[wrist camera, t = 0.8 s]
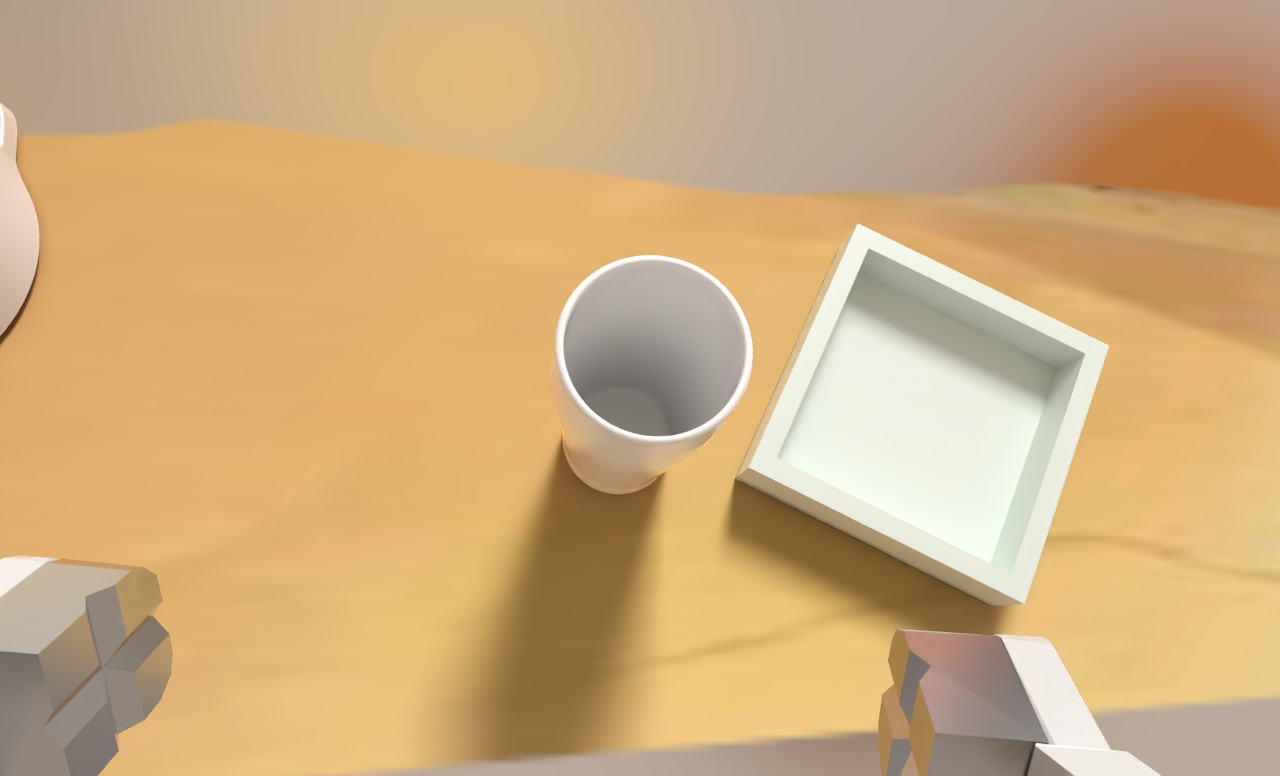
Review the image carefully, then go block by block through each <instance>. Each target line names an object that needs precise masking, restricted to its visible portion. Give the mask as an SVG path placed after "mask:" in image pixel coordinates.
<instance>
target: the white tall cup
mask: <svg viewBox="0 0 1280 776" xmlns="http://www.w3.org/2000/svg"><path fill="white" fill-rule="evenodd" d="M752 362H753V348H752V339H751V334H750V330H749V326H748V323H747V321H746V318H745V316H744V314H743V312H742V310H741V308H740V306H739V305H738V303H737V301H736V300H735V299H734V297H733V296H732V295H731V293H730V292H729V291H728V290H727V289H726V288H725V287H724V286H723V285H722V284H721V283H720V282H719V281H718V280H717V279H715V278H714V277H713V276H712V275H710V274H709V273H707V272H706V271H704V270H702V269H701V268H699V267H697V266H695V265H693V264H690V263H688V262H685V261H682V260H679V259H675V258H670V257H665V256H653V255H646V256H635V257H629V258H625V259H622V260H618V261H616V262H613V263H610V264H608V265H606V266H604V267H602V268H600V269H599V270H597V271H596V272H594V273H593V274H591V275H590V276H589V277H587V278H586V279H585V280H584V281H583V282H582V283H581V284H580V285H579V286H578V287H577V288H576V289H575V291H574V292H573V293H572V295H571V296H570V298H569V299H568V301H567V302H566V304H565V306H564V308H563V310H562V313H561V315H560V318H559V321H558V324H557V329H556V334H555V339H554V344H553V349H552V358H551V388H552V396H553V401H554V406H555V410H556V414H557V417H558V421H559V424H560V428H561V431H562V435H563V449H564V453H565V457H566V459H567V462H568V464H569V466H570V467H571V469H572V470H573V472H574V473H575V474H576V475H577V477H578V478H579V479H580V480H582V481H583V482H584V483H585V484H587V485H588V486H590V487H592V488H594V489H596V490H598V491H601V492H605V493H609V494H628V493H632V492H636V491H639V490H641V489H643V488H645V487H647V486H648V485H650V484H651V483H653V482H654V481H655V480H656V479H657V478H658V477H659V476H660V475H661V474H663V473H665V472H666V471H668V470H670V469H671V468H673V467H675V466H676V465H678V464H680V463H682V462H683V461H685V460H687V459H688V458H690V457H691V456H692V455H694V454H695V453H697V452H698V451H699V450H700V449H701V448H703V447H704V446H705V445H706V444H707V443H708V442H709V441H710V440H711V439H712V438H713V437H714V436H715V435H716V434H717V433H718V432H719V430H720V429H721V428H722V427H723V425H724V424H725V423H726V421H727V420H728V419H729V417H730V416H731V414H732V412H733V411H734V409H735V408H736V406H737V405H738V403H739V401H740V400H741V398H742V396H743V394H744V392H745V390H746V387H747V385H748V382H749V379H750V374H751V369H752Z"/></svg>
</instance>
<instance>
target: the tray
mask: <svg viewBox="0 0 1280 776" xmlns="http://www.w3.org/2000/svg"><path fill="white" fill-rule="evenodd" d="M1108 348H1109V345H1107V344H1105V343H1103V342H1101V341H1099V340H1097V339H1094V338H1092V337H1090V336H1088V335H1086V334H1084V333H1082V332H1080V331H1078V330H1076V329H1074V328H1072V327H1070V326H1068V325H1066V324H1064V323H1062V322H1059V321H1057V320H1055V319H1053V318H1051V317H1049V316H1047V315H1045V314H1043V313H1041V312H1039V311H1037V310H1035V309H1033V308H1031V307H1029V306H1027V305H1025V304H1022V303H1020V302H1018V301H1016V300H1014V299H1012V298H1010V297H1008V296H1006V295H1004V294H1002V293H1000V292H998V291H996V290H994V289H992V288H990V287H988V286H985V285H983V284H981V283H979V282H977V281H975V280H973V279H971V278H969V277H967V276H965V275H963V274H961V273H959V272H957V271H955V270H953V269H950V268H948V267H946V266H944V265H942V264H940V263H938V262H936V261H934V260H932V259H930V258H928V257H926V256H924V255H922V254H920V253H918V252H916V251H913V250H911V249H909V248H907V247H905V246H903V245H901V244H899V243H897V242H895V241H893V240H891V239H889V238H887V237H885V236H883V235H881V234H879V233H876V232H874V231H872V230H870V229H868V228H866V227H864V226H862V225H860V224H857V225H856V226H855V228H854V229H853V230H852V231H851V233H850V234H849V235H848V237H847V238H846V239H845V241H844V242H843V243H842V244H841V246H840V247H839V248H838V250H837V253H836V255H835V257H834V259H833V262H832V264H831V266H830V268H829V270H828V273H827V275H826V277H825V279H824V282H823V284H822V286H821V288H820V291H819V293H818V295H817V297H816V299H815V302H814V304H813V306H812V308H811V311H810V313H809V315H808V317H807V319H806V322H805V324H804V326H803V328H802V331H801V333H800V335H799V337H798V339H797V342H796V344H795V346H794V348H793V351H792V353H791V355H790V357H789V359H788V362H787V364H786V366H785V368H784V371H783V373H782V375H781V377H780V379H779V382H778V384H777V386H776V388H775V391H774V393H773V395H772V397H771V399H770V402H769V404H768V406H767V408H766V411H765V413H764V415H763V417H762V420H761V422H760V424H759V426H758V428H757V431H756V433H755V435H754V437H753V440H752V442H751V444H750V446H749V448H748V451H747V453H746V455H745V457H744V460H743V462H742V464H741V466H740V468H739V471H738V473H737V475H736V477H735V479H736V480H738V481H740V482H742V483H745V484H747V485H749V486H751V487H753V488H755V489H757V490H759V491H761V492H763V493H765V494H767V495H769V496H771V497H773V498H775V499H777V500H779V501H781V502H783V503H785V504H787V505H789V506H791V507H793V508H795V509H797V510H799V511H801V512H803V513H805V514H807V515H809V516H811V517H813V518H815V519H817V520H819V521H821V522H823V523H825V524H827V525H829V526H831V527H833V528H835V529H838V530H840V531H842V532H844V533H846V534H848V535H850V536H852V537H854V538H856V539H858V540H860V541H862V542H864V543H866V544H868V545H870V546H872V547H874V548H876V549H878V550H880V551H882V552H884V553H886V554H888V555H890V556H892V557H894V558H896V559H898V560H900V561H902V562H904V563H906V564H908V565H910V566H912V567H914V568H916V569H918V570H920V571H922V572H924V573H926V574H928V575H931V576H933V577H935V578H937V579H939V580H941V581H943V582H945V583H947V584H949V585H951V586H953V587H955V588H957V589H959V590H961V591H963V592H965V593H967V594H969V595H971V596H973V597H975V598H977V599H979V600H981V601H983V602H985V603H987V604H989V605H991V606H1002V605H1016V604H1025V601H1026V598H1027V595H1028V592H1029V589H1030V586H1031V583H1032V580H1033V577H1034V574H1035V571H1036V568H1037V565H1038V562H1039V559H1040V556H1041V553H1042V549H1043V546H1044V543H1045V540H1046V537H1047V534H1048V531H1049V528H1050V525H1051V522H1052V519H1053V516H1054V513H1055V510H1056V507H1057V504H1058V501H1059V498H1060V494H1061V491H1062V488H1063V485H1064V482H1065V479H1066V476H1067V473H1068V470H1069V467H1070V464H1071V461H1072V458H1073V455H1074V452H1075V449H1076V446H1077V442H1078V439H1079V436H1080V433H1081V430H1082V427H1083V424H1084V421H1085V418H1086V415H1087V412H1088V409H1089V406H1090V403H1091V400H1092V397H1093V394H1094V391H1095V387H1096V384H1097V381H1098V378H1099V375H1100V372H1101V369H1102V366H1103V363H1104V360H1105V357H1106V354H1107V351H1108Z"/></svg>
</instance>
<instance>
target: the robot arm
mask: <svg viewBox="0 0 1280 776" xmlns="http://www.w3.org/2000/svg"><path fill="white" fill-rule="evenodd" d="M16 151H17V125H16V120H15V117H14V115H13V113H12V112H11V111H10V110H9V109H8V108H6V107H5V106H4V105H3V104H1V103H0V336H1V334H2V333H3V332H4V331H5V330H6V328H7V327H8V326H9V324H10V323H11V322H12V320H13V319H14V317H15V316H16V314H17V313H18V311H19V309H20V308H21V306H22V304H23V302H24V300H25V298H26V296H27V294H28V292H29V289H30V287H31V284H32V281H33V278H34V275H35V271H36V267H37V262H38V256H39V227H38V221H37V215H36V212H35V208H34V205H33V202H32V200H31V197H30V195H29V193H28V191H27V189H26V187H25V185H24V183H23V181H22V179H21V177H20V174H19V171H18V168H17V165H16ZM162 601H163V600H162V596H161V592H160V588H159V584H158V580H157V576H156V575H155V574H154V573H152V572H151V571H149V570H148V569H146V568H144V567H136V566H127V565H117V564H107V563H98V562H88V561H78V560H68V559H55V558H46V557H34V556H21V555H20V556H14V557H7V558H3V559H1V560H0V776H98V775H99V773H100V772H101V771H102V770H103V769H104V768H105V766H106V765H107V764H108V763H109V762H110V760H111V759H112V758H113V757H114V756H115V755H116V753H117V752H118V751H119V747H118V734H119V733H121V732H122V731H124V730H126V729H128V728H130V727H132V726H134V725H136V724H138V723H140V722H141V721H143V720H145V719H146V718H147V716H148V715H149V714H150V713H151V711H152V710H153V709H154V708H155V706H156V705H157V704H158V703H159V701H160V700H161V698H162V695H163V693H164V690H165V688H166V685H167V682H168V680H169V677H170V675H171V666H172V647H171V641H170V636H169V633H168V632H167V631H166V630H165V629H164V628H163V627H162V626H161V625H160V623H159V622H158V621H157V620H156V619H155V618H154V617H153V615H154V613H155V611H156V610H157V608H158V607H159V605H160V604H161V602H162ZM888 662H889V666H890V669H891V673H892V677H893V681H894V685H893V686H891V687H890V688H889V689H888V690H887V691H886V692H885V693H884V694H883V695H882V700H881V708H880V715H879V728H878V750H879V760H880V769H881V773H882V776H1161V775H1159V774H1158V773H1157V772H1155V771H1154V770H1152V769H1151V768H1149V767H1148V766H1147V765H1145V764H1144V763H1142V762H1141V761H1140V760H1138V759H1137V758H1135V757H1134V756H1132V755H1131V754H1129V753H1128V752H1125V751H1115V750H1111V749H1110V747H1109V745H1108V743H1107V742H1106V740H1105V738H1104V737H1103V735H1102V733H1101V731H1100V729H1099V728H1098V726H1097V724H1096V722H1095V720H1094V719H1093V717H1092V715H1091V713H1090V711H1089V709H1088V708H1087V706H1086V704H1085V702H1084V701H1083V699H1082V697H1081V695H1080V693H1079V692H1078V690H1077V688H1076V686H1075V684H1074V683H1073V681H1072V679H1071V677H1070V676H1069V674H1068V672H1067V670H1066V668H1065V667H1064V665H1063V663H1062V661H1061V659H1060V658H1059V656H1058V654H1057V652H1056V650H1055V649H1054V647H1053V645H1052V643H1051V642H1050V641H1048V640H1047V639H1045V638H1044V637H1040V636H1020V635H1000V634H994V635H979V634H964V633H950V632H936V631H922V630H908V629H896V631H895V634H894V637H893V639H892V643H891V648H890V653H889V659H888Z"/></svg>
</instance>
